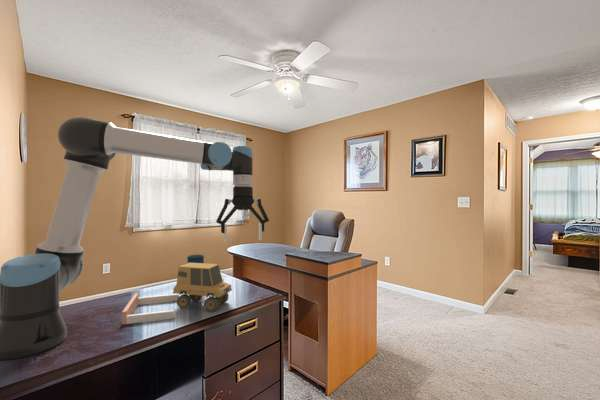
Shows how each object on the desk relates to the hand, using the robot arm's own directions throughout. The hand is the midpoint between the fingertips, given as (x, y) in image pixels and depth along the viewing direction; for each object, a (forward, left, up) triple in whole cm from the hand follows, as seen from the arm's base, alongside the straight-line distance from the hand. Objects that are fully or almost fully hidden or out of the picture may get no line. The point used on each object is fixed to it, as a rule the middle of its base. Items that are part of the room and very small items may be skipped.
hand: (243, 240), depth 110 cm
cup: (-18, +20, -24) cm, 36 cm away
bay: (-31, 0, -24) cm, 39 cm away
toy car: (-15, 0, -24) cm, 28 cm away
